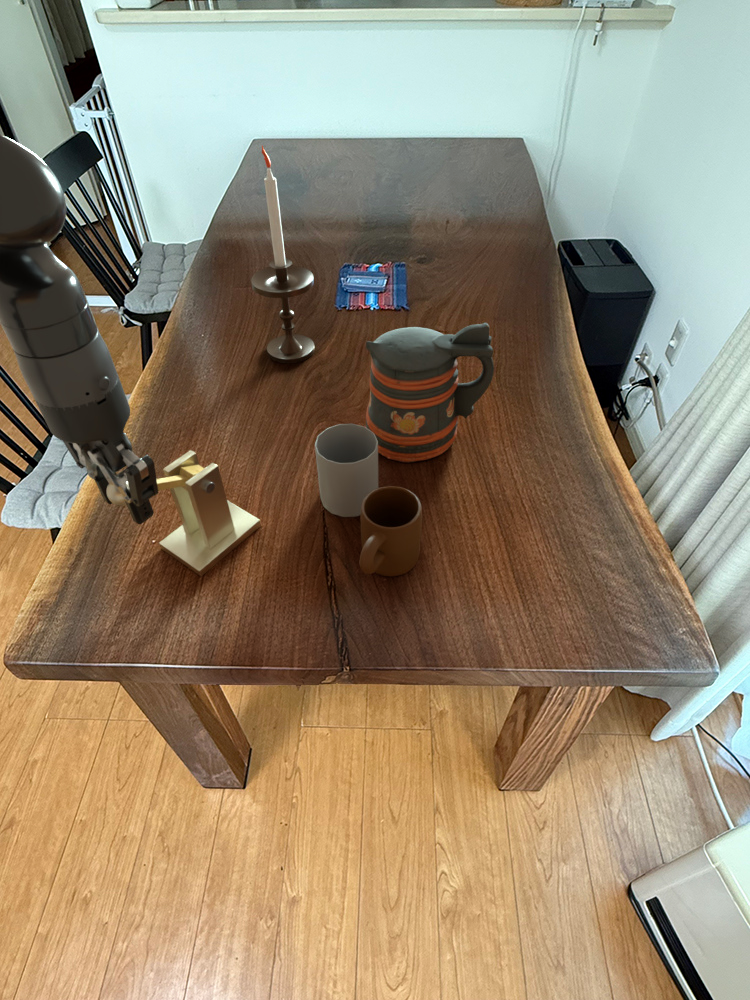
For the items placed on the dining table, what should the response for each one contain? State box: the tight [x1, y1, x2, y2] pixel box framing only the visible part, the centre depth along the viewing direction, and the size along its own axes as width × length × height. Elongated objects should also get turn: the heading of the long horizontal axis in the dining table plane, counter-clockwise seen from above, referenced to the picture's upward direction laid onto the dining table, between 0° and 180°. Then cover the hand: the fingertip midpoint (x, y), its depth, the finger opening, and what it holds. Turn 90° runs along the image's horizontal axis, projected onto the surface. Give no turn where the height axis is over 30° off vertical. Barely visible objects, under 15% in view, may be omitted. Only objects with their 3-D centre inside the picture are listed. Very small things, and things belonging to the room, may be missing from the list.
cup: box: [314, 423, 379, 518], centre depth 83 cm, size 8×8×10 cm
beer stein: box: [364, 322, 495, 463], centre depth 90 cm, size 19×15×20 cm
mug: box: [359, 485, 423, 577], centre depth 74 cm, size 12×8×9 cm, turn 156°
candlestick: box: [250, 145, 316, 364], centre depth 102 cm, size 11×11×35 cm
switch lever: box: [106, 464, 206, 507], centre depth 69 cm, size 13×3×3 cm, turn 143°
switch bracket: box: [158, 449, 262, 577], centre depth 77 cm, size 11×8×13 cm
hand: (129, 508), depth 67 cm, fingers open, 4 cm apart
